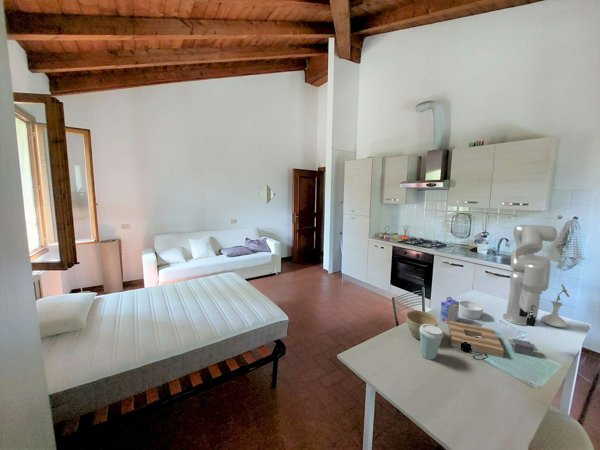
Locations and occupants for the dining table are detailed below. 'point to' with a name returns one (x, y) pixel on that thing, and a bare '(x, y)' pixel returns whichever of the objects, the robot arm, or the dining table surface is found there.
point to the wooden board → (484, 345)
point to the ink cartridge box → (449, 310)
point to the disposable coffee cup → (430, 340)
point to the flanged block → (522, 347)
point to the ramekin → (470, 309)
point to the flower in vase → (555, 313)
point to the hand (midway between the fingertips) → (526, 320)
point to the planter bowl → (419, 321)
